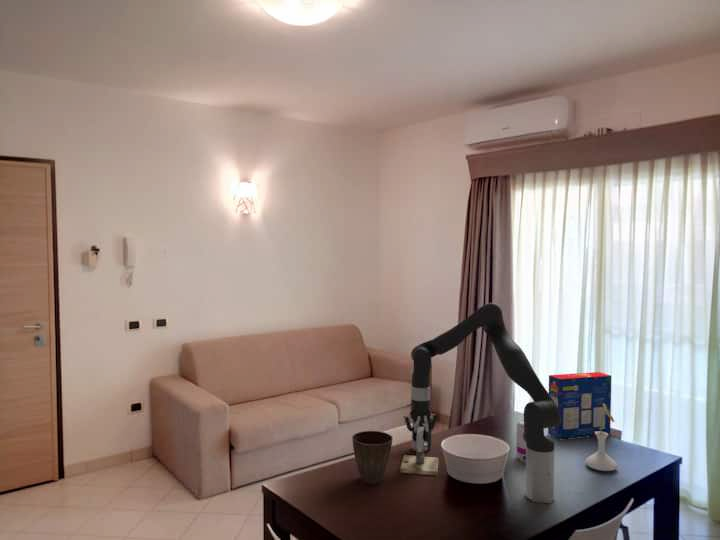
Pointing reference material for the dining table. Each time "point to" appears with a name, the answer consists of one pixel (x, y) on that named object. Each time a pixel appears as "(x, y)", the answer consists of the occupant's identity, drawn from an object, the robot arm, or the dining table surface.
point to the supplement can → (521, 442)
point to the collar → (420, 441)
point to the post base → (419, 464)
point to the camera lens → (428, 434)
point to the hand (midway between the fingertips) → (420, 440)
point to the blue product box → (580, 403)
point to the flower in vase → (602, 450)
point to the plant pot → (372, 454)
